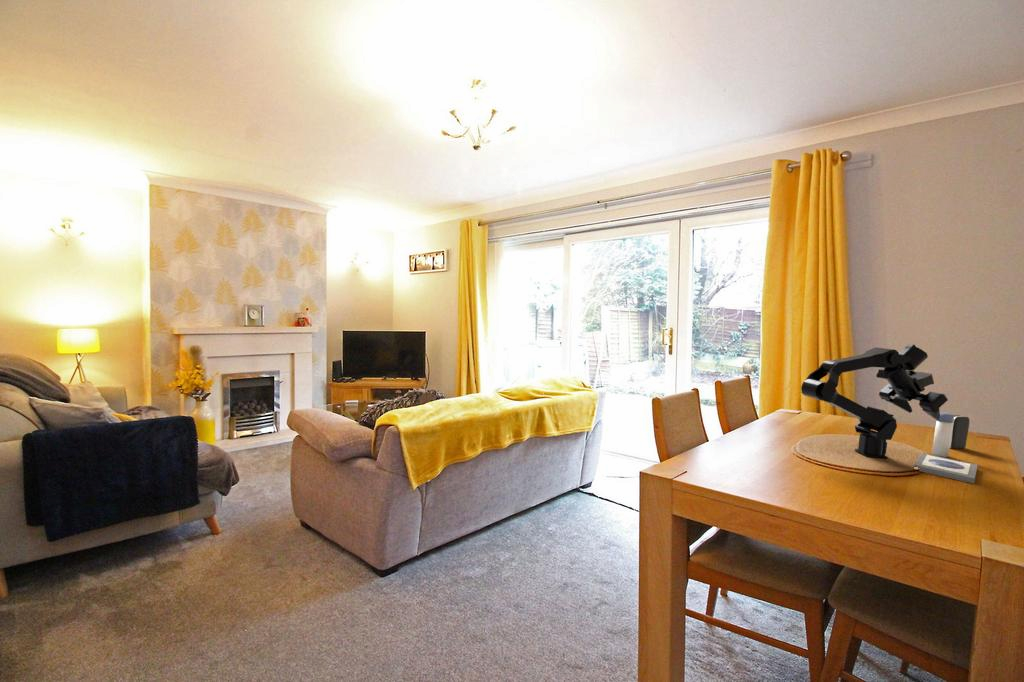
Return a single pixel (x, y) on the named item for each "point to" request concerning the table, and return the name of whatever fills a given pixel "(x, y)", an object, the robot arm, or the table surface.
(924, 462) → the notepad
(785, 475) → the table surface
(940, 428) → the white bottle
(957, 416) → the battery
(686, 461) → the table surface
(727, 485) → the table surface
